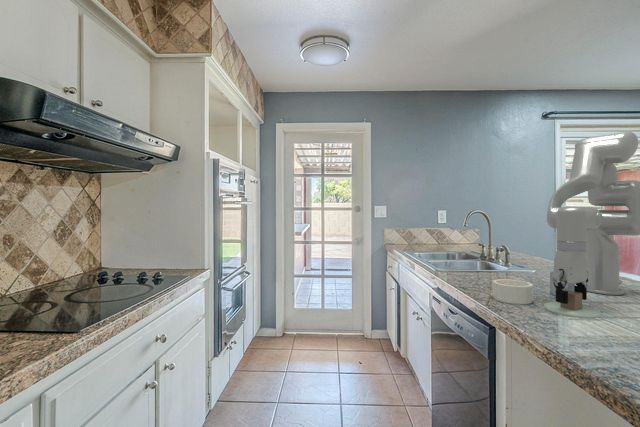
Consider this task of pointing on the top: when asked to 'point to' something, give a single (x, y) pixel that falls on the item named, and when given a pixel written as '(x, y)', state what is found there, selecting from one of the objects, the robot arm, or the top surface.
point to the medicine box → (552, 287)
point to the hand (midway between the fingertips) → (571, 300)
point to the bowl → (513, 291)
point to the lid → (573, 307)
